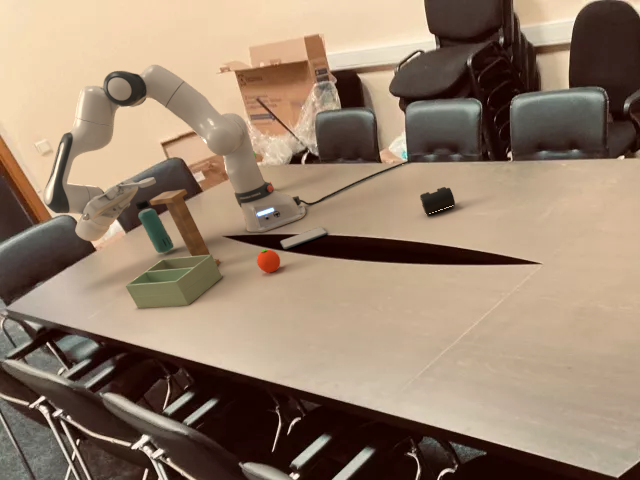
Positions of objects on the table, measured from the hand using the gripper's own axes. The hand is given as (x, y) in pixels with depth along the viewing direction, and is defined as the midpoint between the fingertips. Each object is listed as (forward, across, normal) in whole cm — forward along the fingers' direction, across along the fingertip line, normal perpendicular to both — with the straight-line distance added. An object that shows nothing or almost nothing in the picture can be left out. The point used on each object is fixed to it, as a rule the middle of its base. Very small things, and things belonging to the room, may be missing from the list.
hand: (120, 185), depth 229 cm
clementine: (+26, -6, +51) cm, 58 cm away
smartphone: (+25, +17, +50) cm, 58 cm away
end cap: (+65, +29, +73) cm, 102 cm away
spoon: (+4, 0, +4) cm, 6 cm away
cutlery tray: (+2, -16, +37) cm, 40 cm away
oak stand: (-1, 0, +35) cm, 35 cm away
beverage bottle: (-27, +17, +20) cm, 38 cm away
